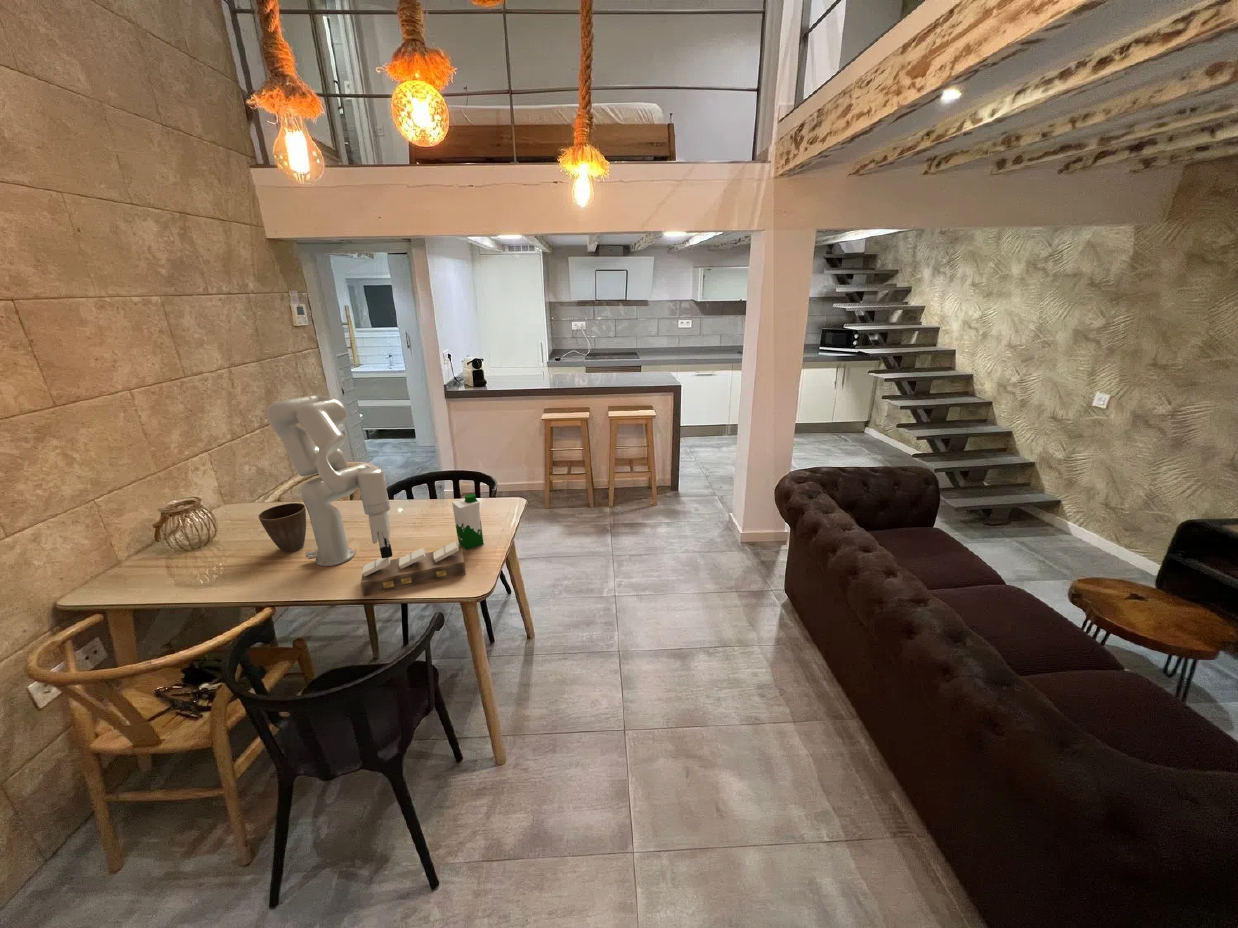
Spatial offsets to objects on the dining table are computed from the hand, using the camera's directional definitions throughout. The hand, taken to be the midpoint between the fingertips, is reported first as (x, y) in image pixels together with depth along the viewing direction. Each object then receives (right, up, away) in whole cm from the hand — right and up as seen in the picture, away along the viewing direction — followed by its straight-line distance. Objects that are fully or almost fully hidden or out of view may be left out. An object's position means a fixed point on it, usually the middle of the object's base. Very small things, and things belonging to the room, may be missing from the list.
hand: (387, 556), depth 161 cm
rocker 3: (+17, -1, +8) cm, 19 cm away
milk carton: (+20, -1, +27) cm, 34 cm away
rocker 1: (-3, -4, 0) cm, 5 cm away
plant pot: (-50, -2, +27) cm, 57 cm away
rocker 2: (+7, -2, +4) cm, 8 cm away
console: (+7, -8, +6) cm, 12 cm away
